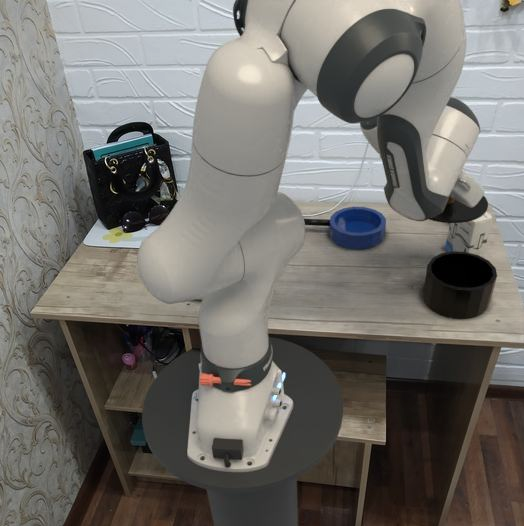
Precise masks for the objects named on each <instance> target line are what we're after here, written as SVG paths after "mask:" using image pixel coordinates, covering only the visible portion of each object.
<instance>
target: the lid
mask: <svg viewBox="0 0 524 526" xmlns="http://www.w3.org/2000/svg"><path fill="white" fill-rule="evenodd" d="M488 208H489V201H488V199H487V198H486V196H485V194H484V195H483V197H482V198H481V200H480V201H479V202H478V203H477V204H476V205H475V206H474V207H473V208H470V207H468V206H466V205H464V204H462V203H460V202H459V201H457V200H455V199H453V198H451V197H449V199H448V201H447V204H446V206H445V209H444V211H443V213H441V214H439V215H437V216H435V217H433V218H431V219H428V220H429V221H432V222H438V223H442V224H443V223H444V224H450V223H463V222H468V221H472V220H475V219H478V218H479V217H481V216H482V215H484V214H485V212H488Z"/></svg>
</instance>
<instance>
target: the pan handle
mask: <svg viewBox="0 0 524 526" xmlns="http://www.w3.org/2000/svg"><path fill="white" fill-rule="evenodd" d="M304 221H305V226H313V227H314V226H315V227H316V226H317V227H330V219H325V218H324V219H321V218H318V219H317V218H304Z"/></svg>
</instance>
